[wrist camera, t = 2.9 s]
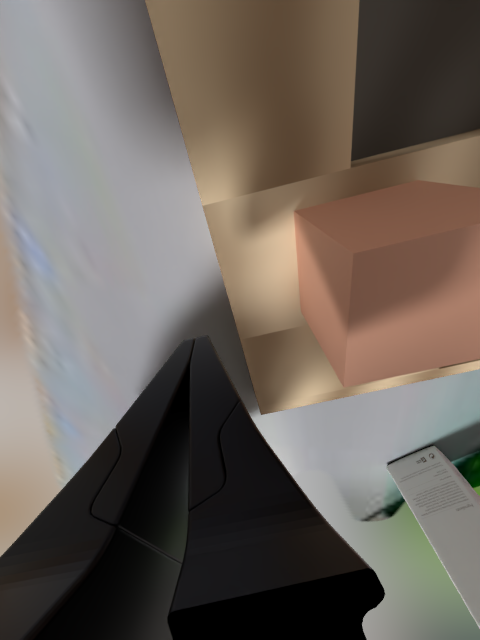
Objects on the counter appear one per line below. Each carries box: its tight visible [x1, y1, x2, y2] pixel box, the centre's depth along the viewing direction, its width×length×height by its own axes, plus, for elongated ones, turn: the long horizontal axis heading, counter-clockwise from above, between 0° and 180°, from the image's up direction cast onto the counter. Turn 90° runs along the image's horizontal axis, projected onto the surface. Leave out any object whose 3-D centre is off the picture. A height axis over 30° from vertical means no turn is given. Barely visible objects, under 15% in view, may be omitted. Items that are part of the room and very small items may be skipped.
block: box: [294, 180, 480, 387], centre depth 9 cm, size 5×5×5 cm
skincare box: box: [387, 446, 480, 628], centre depth 24 cm, size 8×7×16 cm
